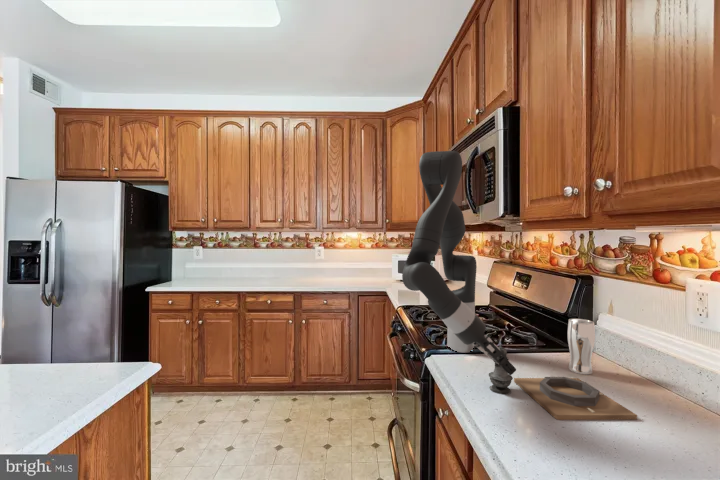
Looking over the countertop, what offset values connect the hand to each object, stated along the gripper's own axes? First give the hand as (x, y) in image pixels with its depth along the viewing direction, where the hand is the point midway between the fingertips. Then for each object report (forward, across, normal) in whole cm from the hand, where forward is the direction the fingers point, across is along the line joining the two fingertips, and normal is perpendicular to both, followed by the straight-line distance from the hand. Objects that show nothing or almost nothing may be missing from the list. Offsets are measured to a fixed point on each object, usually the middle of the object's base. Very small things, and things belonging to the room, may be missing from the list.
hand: (505, 365), depth 92 cm
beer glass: (+25, +13, -16) cm, 32 cm away
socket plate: (+14, -5, -5) cm, 16 cm away
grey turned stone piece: (+4, 0, +6) cm, 7 cm away
